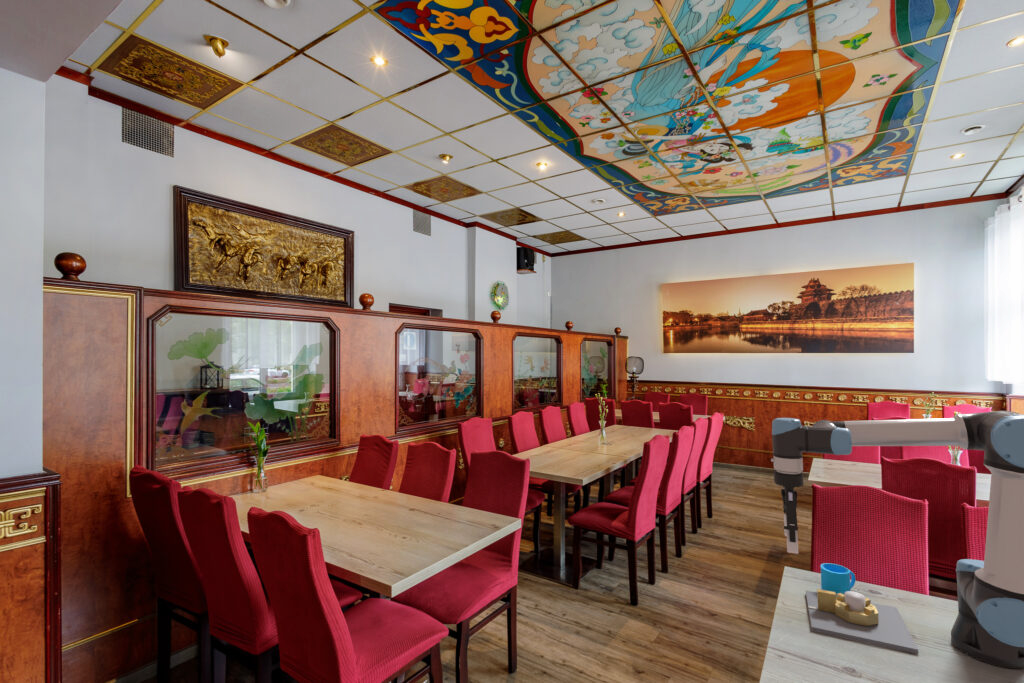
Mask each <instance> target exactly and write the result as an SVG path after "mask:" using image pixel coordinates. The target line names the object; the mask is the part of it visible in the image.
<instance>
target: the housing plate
mask: <svg viewBox="0 0 1024 683" xmlns="http://www.w3.org/2000/svg"><path fill="white" fill-rule="evenodd" d="M805 597H806V604H807V609H808V614H809V615H808V617H809V621H810V628H811V632H816V633H818V634H824V635H828V636H833V637H837V638H843V639H847V640H850V641H855V642H861V643H865V644H870V645H874V646H877V647H884V648H888V649H893V650H897V651H902V652H906V653H912V654H915V655H919V648H918V646H917V644H916V642H915V640H914V639H913V637H912V634H911V633H910V631H909V629H908V627H907V625H906V623H905V621H904V619H903V617H902V615H901V613H900V611H899V609H898V608H897V606H891V605H886V604H881V603H875V602H871V604H872V605H874V606H875V607H876V609H877V611H878V620H879V624H875V625H871V626H864V625H859V624H854V623H849V622H848V621H846V620H844V619H842V618H840V617H838V616H837V615H835V613H833V612H828V611H823V610H818V601H817V591H811V590H805ZM865 597H866V596H865V595H863V594H862V593H860V592H857V591H853V590H850V591H846V592H845V603H847V604H849V609H851V610H855V611H860V612H864V607H865ZM836 598H837V596H836Z"/></svg>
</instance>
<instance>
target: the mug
mask: <svg viewBox="0 0 1024 683" xmlns="http://www.w3.org/2000/svg"><path fill="white" fill-rule="evenodd" d="M856 580H857V579H856V575H855V573H854V572H853V571H851V570H850V569H849V568H847V567H845V566H843V565H841V564H838V563H832V562H831V563H830V562H829V563H828V562H827V563H826V562H825V563H824V562H823V563H821V564H820V584H821V585H820V586H821V588H820V590H826V591H832V592H835V593H836V596H837V594H838V593H842V594H844V595H845V592H846V591H851V589H852V588H853V587H854V586H855V584H856Z"/></svg>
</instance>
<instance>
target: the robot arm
mask: <svg viewBox="0 0 1024 683" xmlns="http://www.w3.org/2000/svg"><path fill="white" fill-rule="evenodd" d="M771 422H772V424H771V442H772V455H773V457H772V458H771V459H770V461H771V462H772V463H773V469H774V471H773V482H774V484H775V485H778V486H781V487H782V489H780V493H781V494H780V495H781V499H782V503H783V504H782V508H783V530H784V533H783V534H784V537H786V551H787V553H790V554H795V555H799V553H800V552H799V536H798V531H799V527H798V517H797V514H798V513H797V508H798V502H797V501H798V492H797V490H795V488H800V487H803V486H804V474H803V471H804V462H803V453H814V454H826V455H835V456H841V455H842V456H843V455H844V456H848V455H851V454H852V452H853V447H959V448H961V449H962V450H964V451H966V450H968V451H970V450H971V451H973V450H974V451H983V452H984V453H983V454H984V455H983V466H985V468H986V469H988V470H989V471H990V473H991V475H990V487H989V500H988V512H987V513H988V514H987V522H986V535H985V536H986V537H985V547H984V560H980V559H973V558H964V559H963V558H962V559H959V560H957V562H956V568H955V572H956V582H957V583H956V587H957V588H956V589H957V590H956V591H957V608H958V613H957V616H956V618H955V621H954V623H953V624H952V625H953V626H952V628H951V631H950V640H951V643H952V644H953V646H955V647H956V649H958V650H959V651H961V652H962V653H964V654H966V655H967V656H970V657H972V658H973V659H976V660H979V661H981V662H983V663H986V664H991V665H992V666H993V665H994V666H997V667H1001V668H1007V669H1014V670H1022V669H1024V414H1023V413H1019V412H1014V411H1010V410H996V411H995V410H994V411H985V412H973V413H957V414H955V415H954V416H953V417H948V418H947V417H946V418H945V417H944V418H943V417H942V418H941V417H940V418H938V417H937V418H907V419H905V418H903V419H876V420H875V419H874V420H873V419H869V420H844V421H843V420H842V421H839V420H838V421H831V420H827V419H823V420H818V421H816V422H815V423H813V425H812V426H808V425H802V422H801V420H800V419H799V418H793V417H777V418H774V419H773V420H772V421H771Z"/></svg>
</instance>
